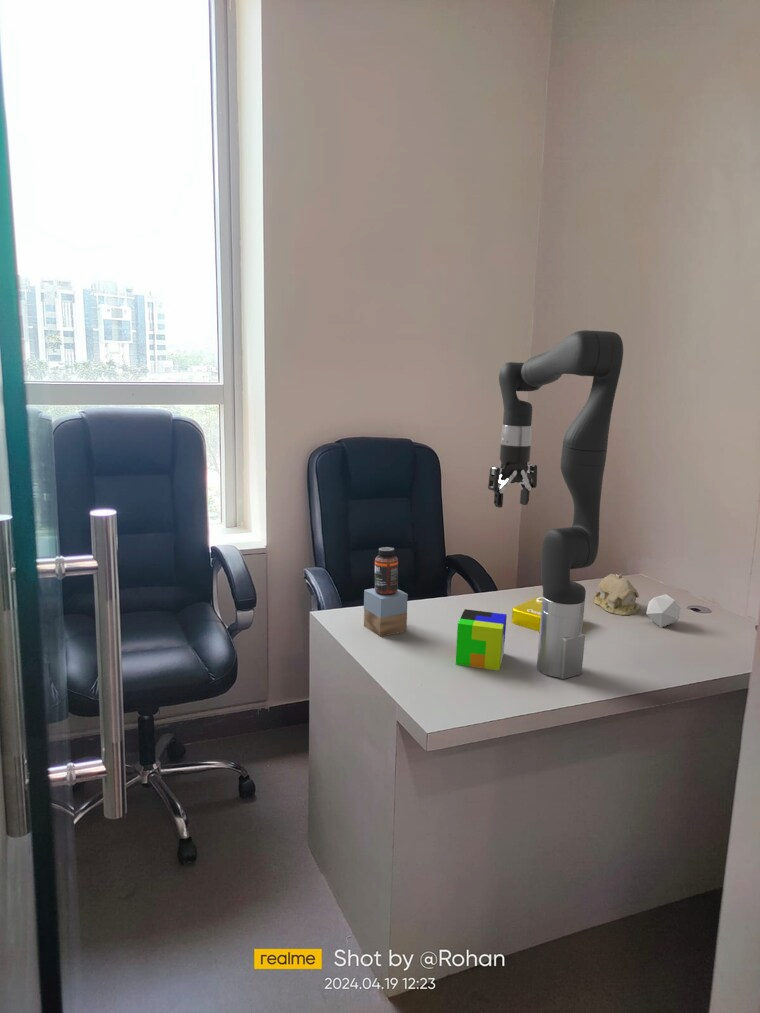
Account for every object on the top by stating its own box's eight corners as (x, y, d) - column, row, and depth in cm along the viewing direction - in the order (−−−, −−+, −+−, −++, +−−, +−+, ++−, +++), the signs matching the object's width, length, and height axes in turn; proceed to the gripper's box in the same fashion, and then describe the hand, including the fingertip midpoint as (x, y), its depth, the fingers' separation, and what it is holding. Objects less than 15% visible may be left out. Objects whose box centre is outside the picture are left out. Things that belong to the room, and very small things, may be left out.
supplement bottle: (400, 589, 186) (401, 547, 184) (394, 596, 181) (395, 552, 179) (378, 587, 188) (378, 545, 186) (371, 593, 182) (372, 550, 180)
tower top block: (406, 612, 185) (407, 594, 184) (380, 618, 180) (381, 599, 179) (389, 603, 191) (390, 585, 190) (363, 608, 187) (364, 589, 186)
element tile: (508, 623, 194) (509, 606, 193) (536, 609, 205) (537, 593, 204) (559, 638, 184) (561, 621, 183) (585, 623, 195) (587, 607, 194)
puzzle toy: (503, 653, 173) (506, 614, 171) (499, 670, 164) (502, 629, 162) (462, 648, 176) (464, 609, 174) (455, 664, 167) (457, 623, 164)
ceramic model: (647, 612, 205) (651, 578, 203) (618, 617, 200) (622, 583, 198) (611, 597, 217) (615, 565, 215) (583, 601, 213) (586, 569, 210)
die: (684, 633, 192) (689, 599, 196) (663, 620, 188) (669, 586, 192) (657, 633, 199) (663, 601, 202) (637, 622, 195) (643, 589, 199)
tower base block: (406, 631, 185) (407, 612, 184) (379, 636, 181) (380, 618, 180) (389, 621, 192) (390, 603, 191) (363, 626, 188) (364, 608, 187)
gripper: (504, 446, 176) (499, 511, 179) (547, 443, 183) (542, 506, 187) (484, 442, 182) (480, 505, 185) (526, 440, 189) (522, 500, 193)
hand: (511, 505), depth 186 cm, fingers open, 8 cm apart
